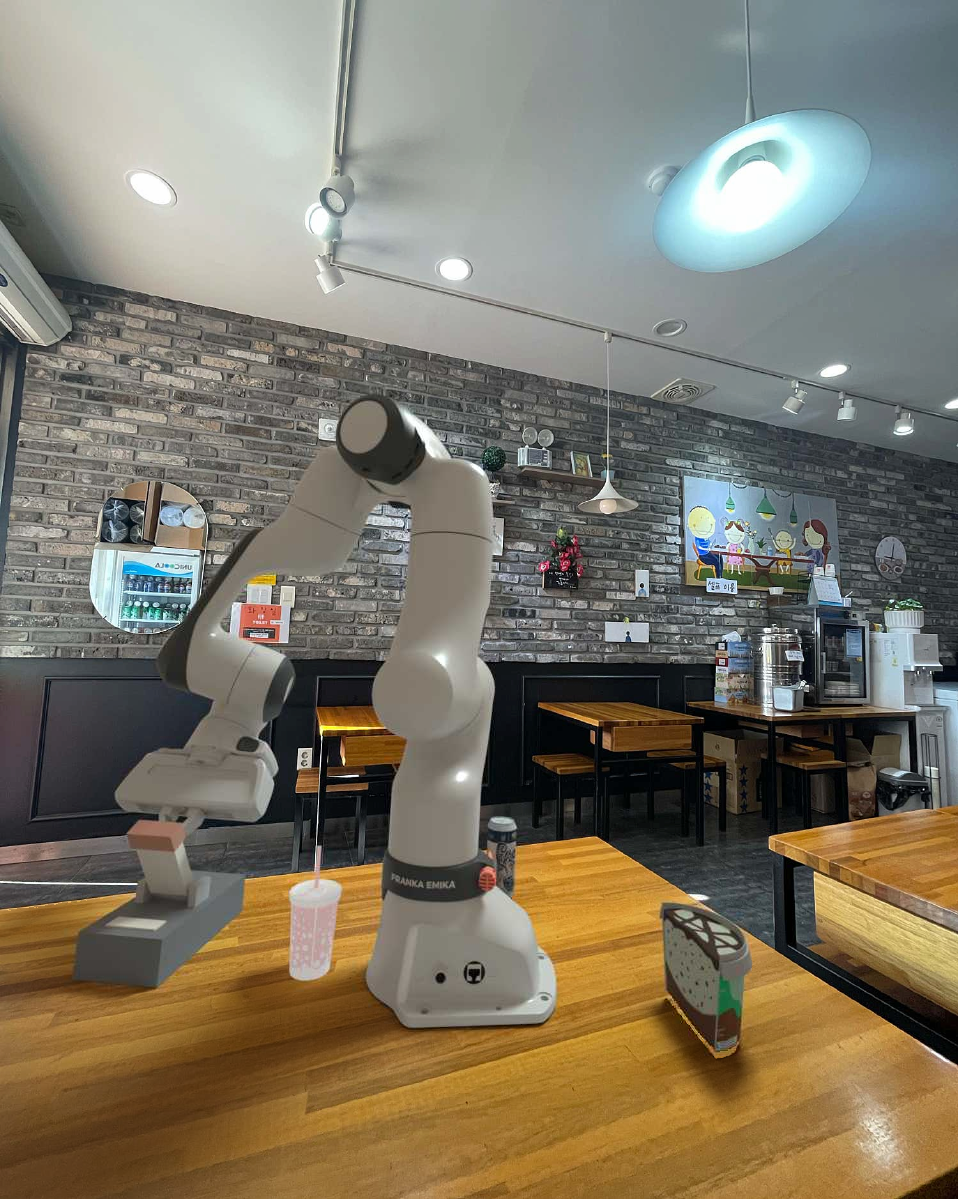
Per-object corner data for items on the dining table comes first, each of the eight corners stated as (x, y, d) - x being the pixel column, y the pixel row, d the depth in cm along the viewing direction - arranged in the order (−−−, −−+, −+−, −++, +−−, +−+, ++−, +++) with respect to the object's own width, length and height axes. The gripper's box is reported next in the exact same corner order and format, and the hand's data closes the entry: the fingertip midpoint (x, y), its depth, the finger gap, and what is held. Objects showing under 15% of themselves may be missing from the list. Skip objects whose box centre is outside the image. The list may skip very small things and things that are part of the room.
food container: (783, 1066, 50) (780, 955, 51) (725, 1071, 49) (723, 958, 50) (706, 987, 62) (706, 898, 63) (659, 990, 61) (659, 900, 62)
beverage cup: (335, 951, 66) (343, 836, 67) (337, 980, 60) (346, 853, 62) (283, 958, 64) (293, 839, 66) (281, 988, 58) (292, 857, 60)
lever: (200, 889, 68) (181, 822, 64) (189, 904, 66) (170, 837, 62) (159, 886, 69) (138, 819, 64) (148, 901, 67) (126, 833, 62)
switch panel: (242, 911, 75) (247, 856, 76) (156, 988, 57) (164, 915, 58) (176, 905, 76) (182, 851, 77) (72, 979, 58) (81, 908, 59)
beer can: (503, 908, 80) (506, 826, 81) (478, 898, 83) (481, 820, 84) (519, 897, 84) (522, 820, 85) (495, 888, 86) (498, 814, 88)
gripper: (142, 734, 75) (76, 826, 65) (277, 744, 73) (232, 840, 63) (160, 759, 79) (101, 850, 69) (289, 769, 77) (248, 864, 67)
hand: (165, 845), depth 66 cm, fingers closed, pressing on lever
